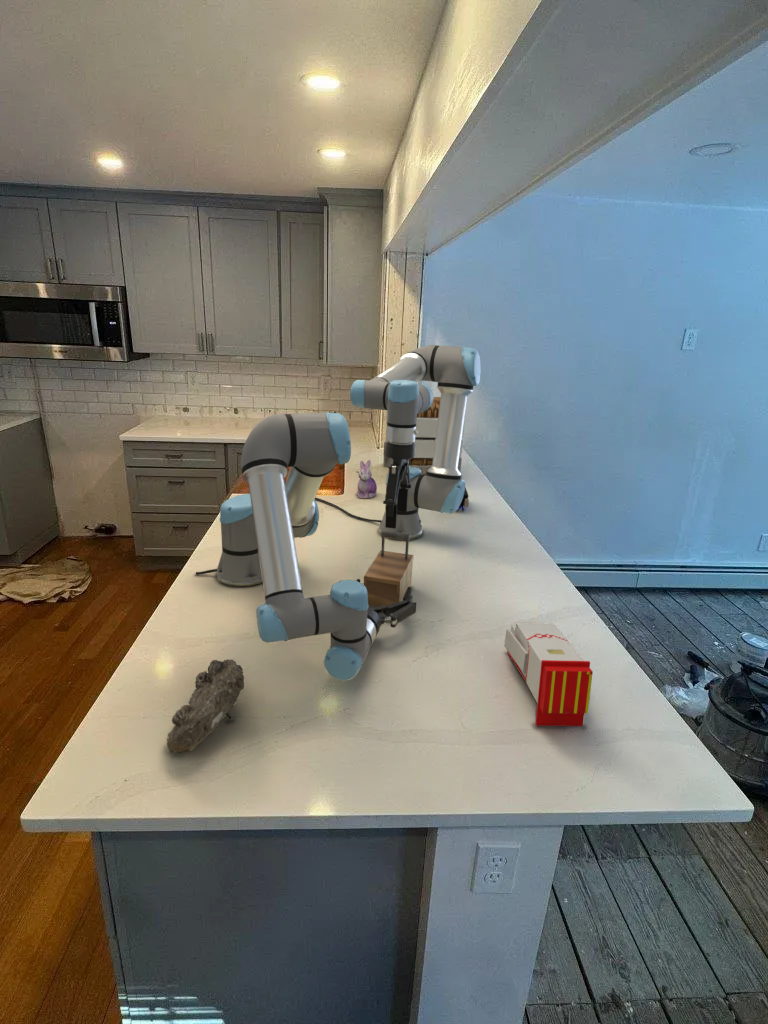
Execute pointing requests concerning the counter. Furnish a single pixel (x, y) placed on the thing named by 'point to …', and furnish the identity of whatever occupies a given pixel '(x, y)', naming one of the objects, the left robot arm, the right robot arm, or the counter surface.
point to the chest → (387, 590)
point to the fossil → (206, 705)
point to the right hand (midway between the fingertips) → (396, 519)
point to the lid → (390, 562)
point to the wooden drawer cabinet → (424, 437)
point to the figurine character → (464, 500)
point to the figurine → (366, 481)
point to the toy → (551, 672)
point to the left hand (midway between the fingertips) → (383, 587)
